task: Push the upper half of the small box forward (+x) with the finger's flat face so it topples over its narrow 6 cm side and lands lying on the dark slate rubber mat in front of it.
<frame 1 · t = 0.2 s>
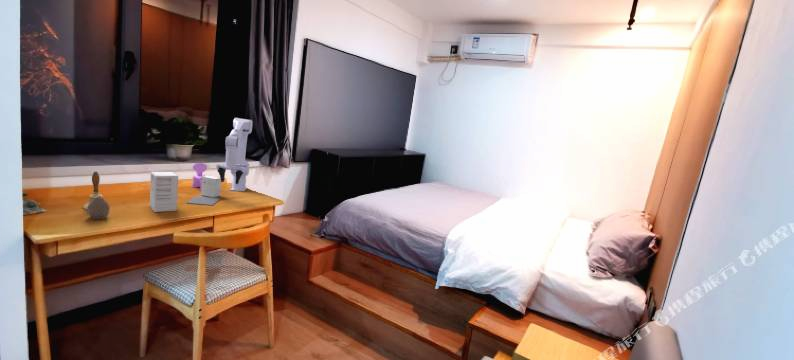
hand: (229, 182, 190), 10 cm above the table, tool pointing down, fingers open, 7 cm apart
toy chair: (200, 188, 206), on the table
supplement box: (163, 209, 164), on the table
slate mat: (204, 201, 184), on the table
hand bell: (95, 207, 153), on the table
small box: (210, 196, 194), on the table, touching slate mat
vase: (98, 218, 142), on the table
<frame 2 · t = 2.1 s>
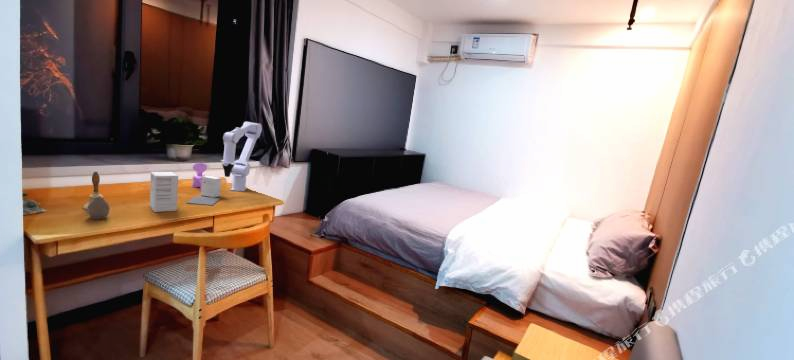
hand: (227, 176, 201), 10 cm above the table, tool pointing down, fingers closed
nothing on the table moved.
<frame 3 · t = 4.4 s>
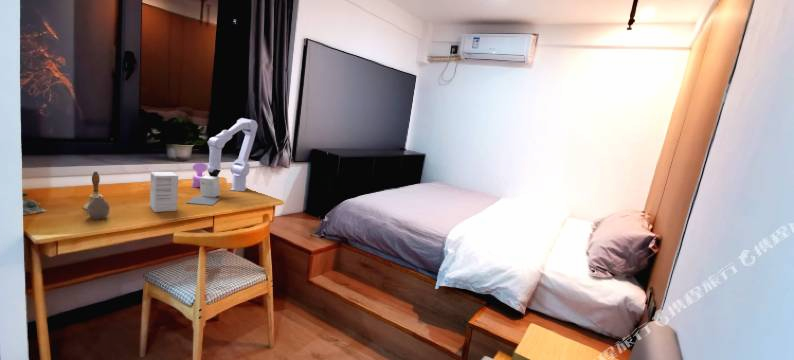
hand: (213, 182, 197), 7 cm above the table, tool pointing down, fingers closed
small box: (210, 195, 194), on the table, touching gripper, slate mat
everything else where it was.
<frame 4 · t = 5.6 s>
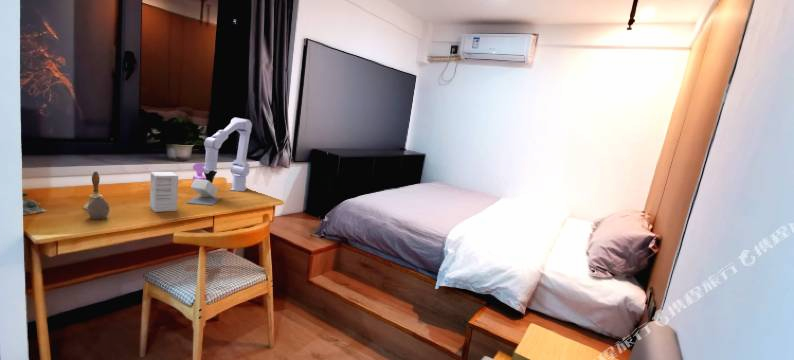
hand: (209, 184, 191), 7 cm above the table, tool pointing down, fingers closed
small box: (209, 192, 193), point 2 cm above the table, touching slate mat
everything else where it was.
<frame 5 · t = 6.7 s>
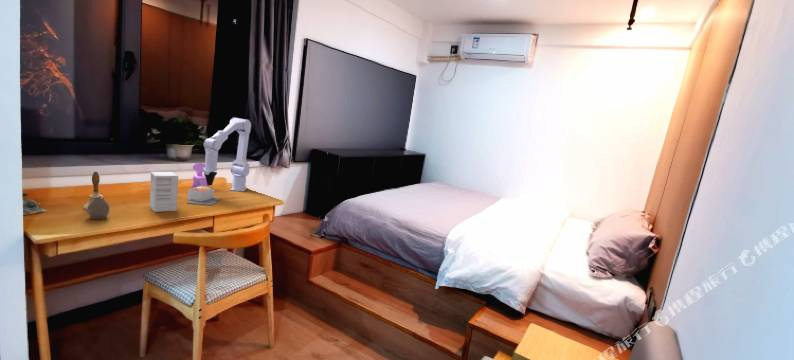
hand: (209, 185, 191), 7 cm above the table, tool pointing down, fingers closed
small box: (207, 191, 191), point 3 cm above the table, touching slate mat
everything else where it was.
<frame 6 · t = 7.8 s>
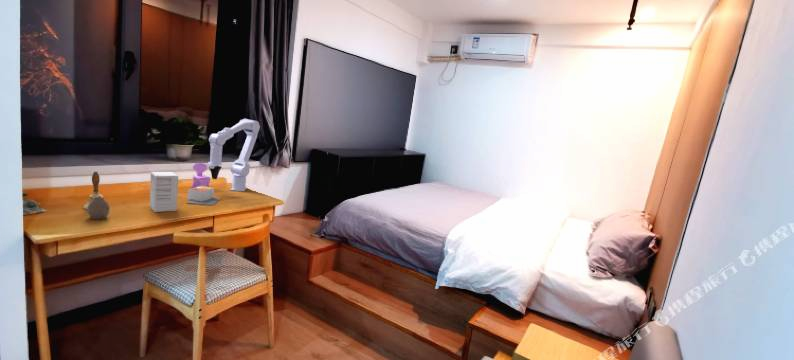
hand: (214, 178, 198), 9 cm above the table, tool pointing down, fingers closed
nothing on the table moved.
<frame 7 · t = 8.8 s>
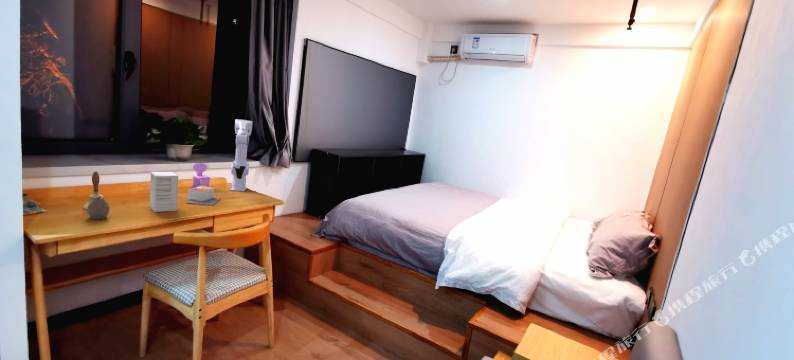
hand: (239, 178, 201), 10 cm above the table, tool pointing down, fingers closed
nothing on the table moved.
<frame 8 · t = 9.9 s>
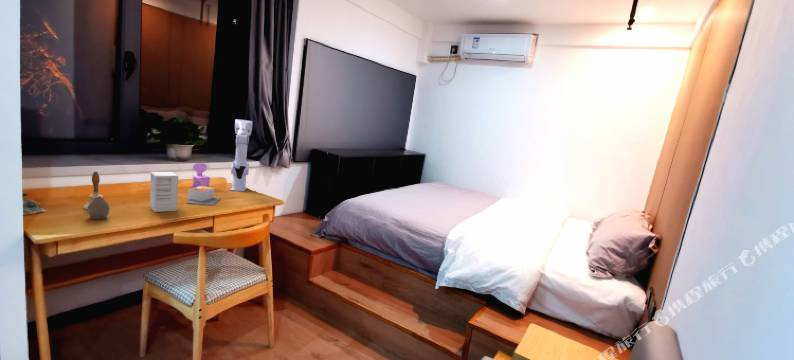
hand: (239, 178, 201), 10 cm above the table, tool pointing down, fingers closed
nothing on the table moved.
at the end: small box tilted 90°; small box inside the target area (5.0 cm from its centre), point 3.1 cm above the table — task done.
